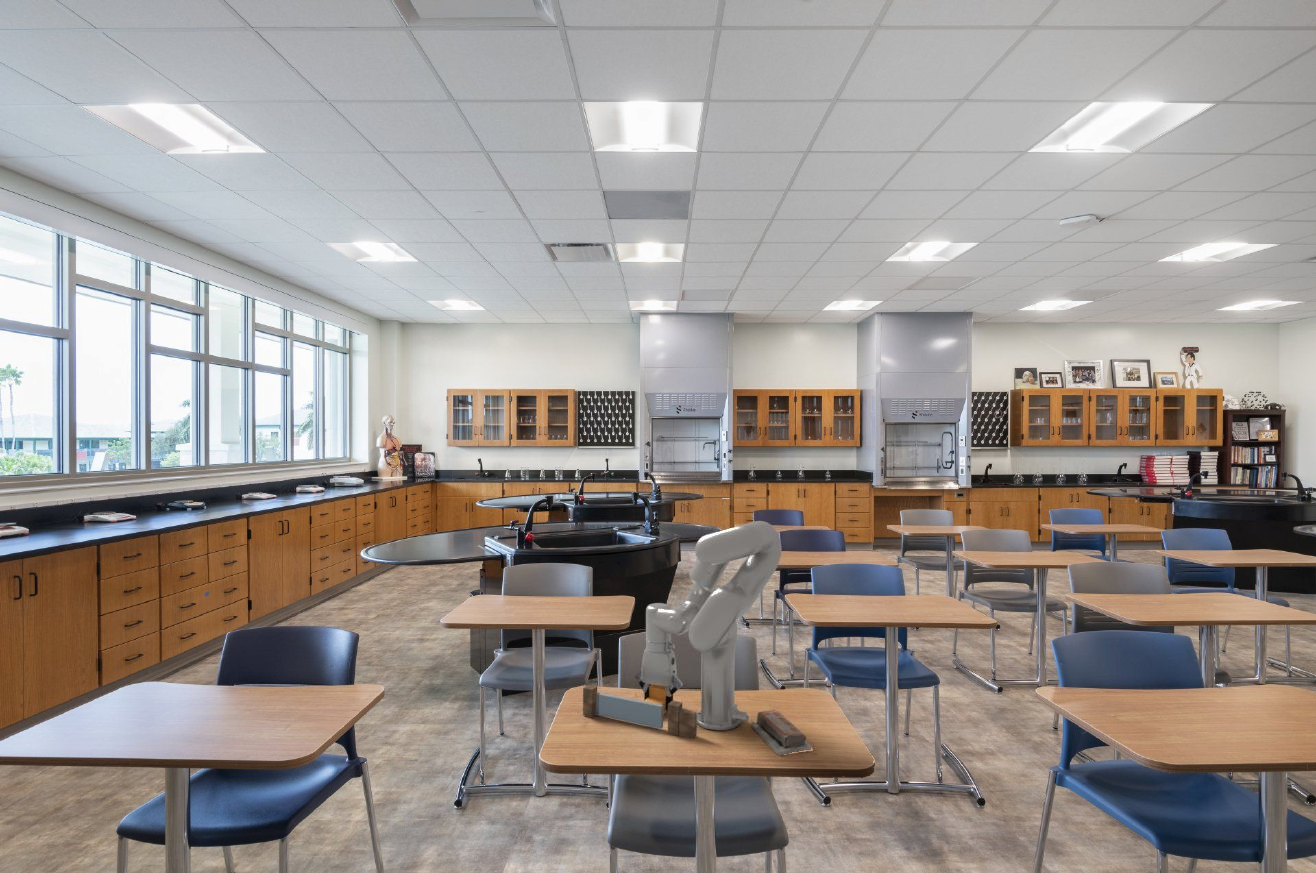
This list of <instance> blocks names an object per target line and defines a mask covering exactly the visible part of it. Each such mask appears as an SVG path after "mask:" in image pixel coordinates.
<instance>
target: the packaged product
mask: <svg viewBox="0 0 1316 873" xmlns="http://www.w3.org/2000/svg"><path fill="white" fill-rule="evenodd" d="M756 716H757V718H756V722H754V721H753V722H751V724H750V725H751V728H752V729H753V728H754V729H753V730H754V731H755V730H756V733H757V734H758V735H759V736H760V738H761V739H762V740H763V739H764V740H763V741H764V742H765V743H766V744H767V745H768V746H769V747H770V748H771V750H773V751H774V752H775V753H776V752H777V753H776V754H777V755H778V754H779V756H780V755H783V756H785V755H784V754H789V753H792V752H799V751H804V750H811V748H812V749H814V750H815V747H814V746H812V744H810V743H809V742H808V741H807V736H806V735H805V733H803V732H802V731H801V730H800V729H799V728H798V727H797V726H796V725H795V724H793V723H792V722H791V721H790V720H789V719H787V717H785V715H783V714H782V713H781V712H780V711H778V710H775V709H772V710H762V711H760V712H759V711H758V712H757V715H756Z"/></svg>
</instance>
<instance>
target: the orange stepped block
mask: <svg viewBox="0 0 1316 873" xmlns="http://www.w3.org/2000/svg"><path fill="white" fill-rule="evenodd" d="M666 696H667V693H666V690H665V687H664V686H658V685H651V686H650V687H649V697H648V698H647V699H646V700H643V701H644V702H649V703H654V704H659V705H663V713H664V714H665V713H666V712H668V710H666ZM665 711H666V712H665Z"/></svg>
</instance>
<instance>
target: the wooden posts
mask: <svg viewBox="0 0 1316 873" xmlns="http://www.w3.org/2000/svg"><path fill="white" fill-rule="evenodd" d="M596 693H598V685H594V684H587V685H586V686H584V687H583V689H582V716H583V715H585V716H584V717H587V716H588V717H587V718H591V717H592V718H593V717H594V715H595V716H597V715H596ZM697 713H698V712H697V711H694V710H690V709H683V701H676V700H673V701H671V702H670V703H669V704H668V710H667V735H671V736H675V737H679V736H682V737H685V738H690V739H696V737H698V736H697V733H698V732H697V726H698V724H697Z"/></svg>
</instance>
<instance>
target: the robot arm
mask: <svg viewBox="0 0 1316 873" xmlns="http://www.w3.org/2000/svg"><path fill="white" fill-rule="evenodd" d="M694 552H695V556H696V558H697V559H696V560H695V562H694V564H693V566H692V568H691V569H690V571H689V579H690V580H691V582H692V586H691V589H690V591H689V593H688V595H687V597H686V599H685V601H684V602H683V604H680V605H678V606H676V607H673V608H671V606H670V605H668V604H667V603H663V602H656V603H655V602H654V603H650V604H648V605H647V606H646V608H645V649H644V650H643V654H642V661H641V670H640V671H639V672H638V673H637V674H636V675H635V676H634V679H635V681H636V682H637V683H638V685H639V686H640V688H641V689H642V693H643V694H644V695H643V696H644V697H643V698H644V700H646V699H647V698H648V697H649V687H650V686H651V685H658V686H664V687H665V690H666V693H667V696H666V710H667V711H668V704H669V703H670V702H671V701H674V694H675V693H676V692H677V691H678V690H680V688H682V687H683V686H684V684H683V682H682V680H681V679H680V678H679V677H678V674H677V673H678V672H677V671H678V670H677V660H676V654H675V651H674V649H675V648H676V644H674V643H672V635H674V636H681V635H683V634H685V633H687V632H688V639H689V642H690V645H691V646H692V647H693V648H694V650H696V651H698V652H701V660H700V661H701V662H700V663H701V665H700V669H701V670H700V672H701V673H700V690H701V691H700V698H701V699H700V711H699V712H697V725H699V727H701V728H703V729H706V730H707V729H708V730H710V731H711V730H713V731H729V730H732V729H735V728H737V727H738V726H739V725H740V723H749V719H750V718H749V717H750V716H749V715H748V712H747V711H741V710H740V709H738V708H739V706H738V704H735V667H736V666H735V664H736V662H735V661H736V657H735V656H736V644H737V636H738V624H737V620H738V619H740V618H741V617H743V616H744V615H746V614H747V613H748V612H749V611H750V610H751V608H752V606H753V605H754V604H755V602H756V600H757V599H758V598H759V596H760V594H761V593H762V592H763V591H764V588H765V586H766V585H767V583H768V582H769V581H770V579H771V577H772V576H773V575H774V573H775V571H776V569H777V568H778V566H779V564H780V561H781V558H782V541H781V538H780V536H779V533H778V531H777V530H776V528H775V527H774V526H773V525H772V524H770V523H769V522H767V521H762V520H757V521H756V520H755V521H752V522H748V523H745V524H744V523H743V524H741V525H738V526H734V527H731V528H727V529H724V530H721V531H715V532H714V531H713V532H710V533H708V534H707V533H706V534H704V535H703V536H701V537H700V538H699V539H698V540H697V542H696V544H695V548H694ZM744 558H746V559H745V560H744V561H743V562H742V564H740V567H739V568H738V570H737V571H736V573H735V574H734V576H733V577H732V578H731V580H730V581H729V582H727V583H725V584H724V585H722V586H719V587H718V588H716V587H717V585H718V583H719V581H720V580H721V578H722V576H723V574H724V572H725V570H727V569H726V568H727V567H728V565H729V563H730V562H733V561H735V560H736V561H737V560H740V559H744ZM673 684H675V686H674V685H673ZM644 700H643V701H644Z"/></svg>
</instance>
